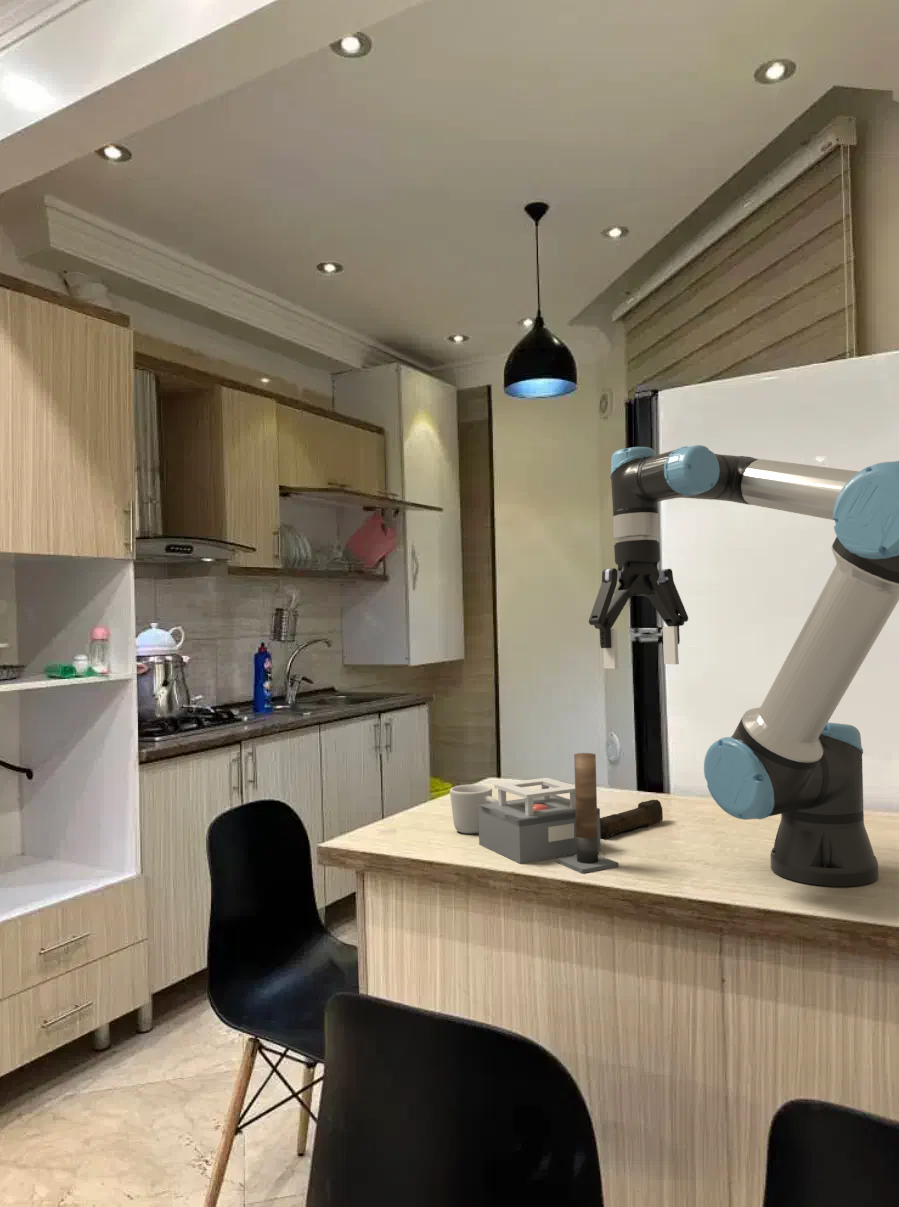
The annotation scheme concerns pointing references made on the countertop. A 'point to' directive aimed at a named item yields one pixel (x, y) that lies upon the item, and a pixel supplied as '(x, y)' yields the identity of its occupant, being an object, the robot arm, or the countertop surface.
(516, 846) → the framed red button box
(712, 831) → the countertop surface
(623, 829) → the hand tool
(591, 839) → the brown wooden rod
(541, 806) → the plunger
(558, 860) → the pad
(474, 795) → the cup
